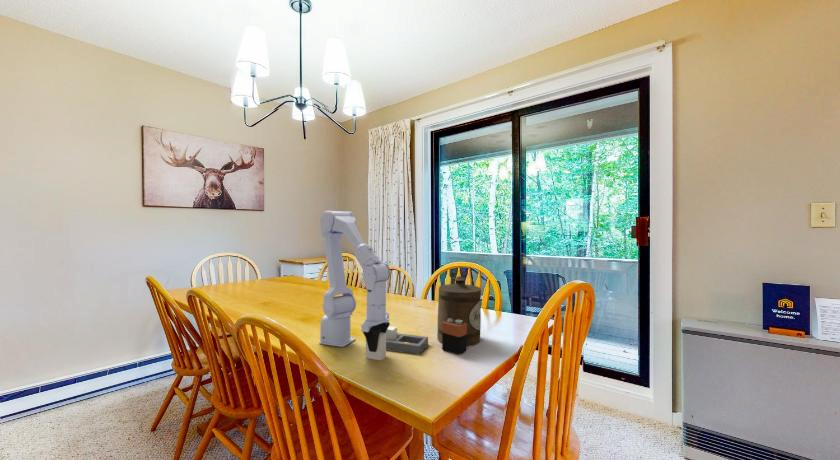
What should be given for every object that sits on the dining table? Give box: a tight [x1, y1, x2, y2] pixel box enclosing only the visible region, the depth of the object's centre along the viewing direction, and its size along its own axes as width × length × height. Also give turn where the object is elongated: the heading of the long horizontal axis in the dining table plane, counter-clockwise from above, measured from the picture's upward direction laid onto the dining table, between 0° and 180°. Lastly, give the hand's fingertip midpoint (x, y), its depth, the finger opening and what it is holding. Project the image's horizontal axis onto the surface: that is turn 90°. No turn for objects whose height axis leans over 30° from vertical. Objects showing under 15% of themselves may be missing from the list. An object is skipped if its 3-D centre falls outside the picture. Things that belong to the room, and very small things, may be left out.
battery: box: [441, 318, 467, 356], centre depth 107 cm, size 4×7×10 cm, turn 49°
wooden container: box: [436, 276, 482, 347], centre depth 117 cm, size 15×15×22 cm
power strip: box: [386, 325, 429, 355], centre depth 111 cm, size 17×9×6 cm, turn 71°
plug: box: [365, 332, 387, 361], centre depth 101 cm, size 5×4×7 cm
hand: (375, 348), depth 101 cm, fingers closed on plug, 3 cm apart
